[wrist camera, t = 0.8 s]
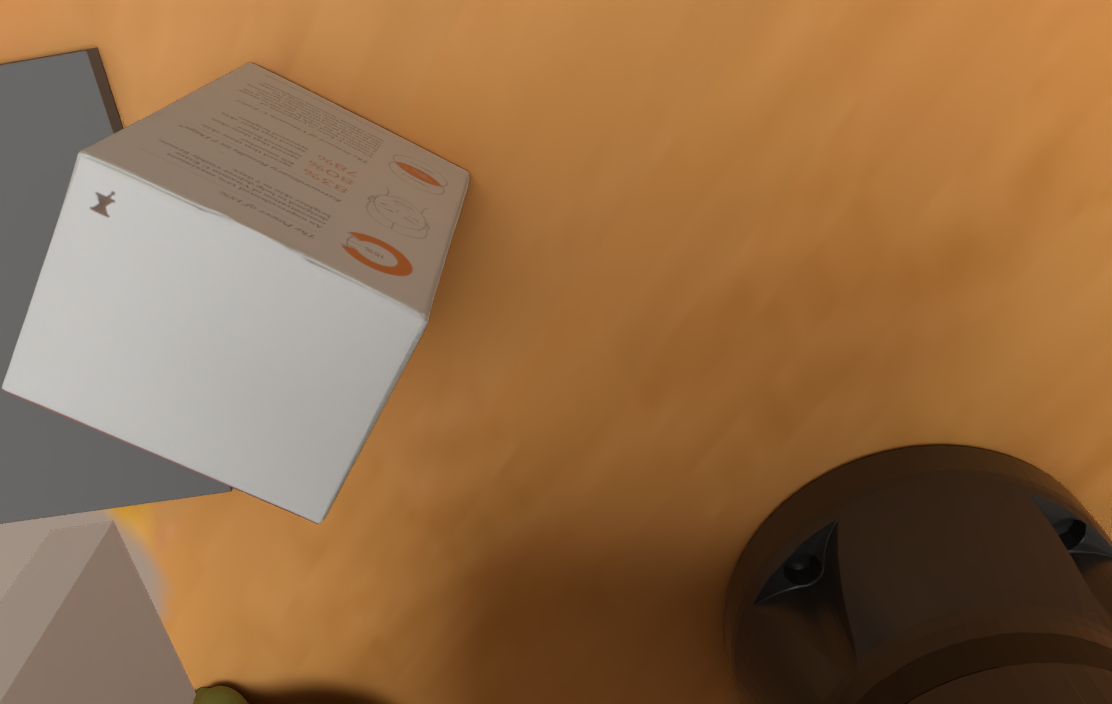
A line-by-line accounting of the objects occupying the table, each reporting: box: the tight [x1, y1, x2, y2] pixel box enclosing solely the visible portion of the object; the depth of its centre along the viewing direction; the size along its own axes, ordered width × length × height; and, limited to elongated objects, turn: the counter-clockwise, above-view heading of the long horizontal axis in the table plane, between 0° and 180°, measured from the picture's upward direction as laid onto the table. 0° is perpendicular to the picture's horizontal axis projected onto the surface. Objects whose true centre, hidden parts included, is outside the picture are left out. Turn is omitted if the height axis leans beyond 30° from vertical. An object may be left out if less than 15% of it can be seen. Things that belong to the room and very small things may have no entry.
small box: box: [2, 62, 470, 524], centre depth 29 cm, size 8×6×13 cm
